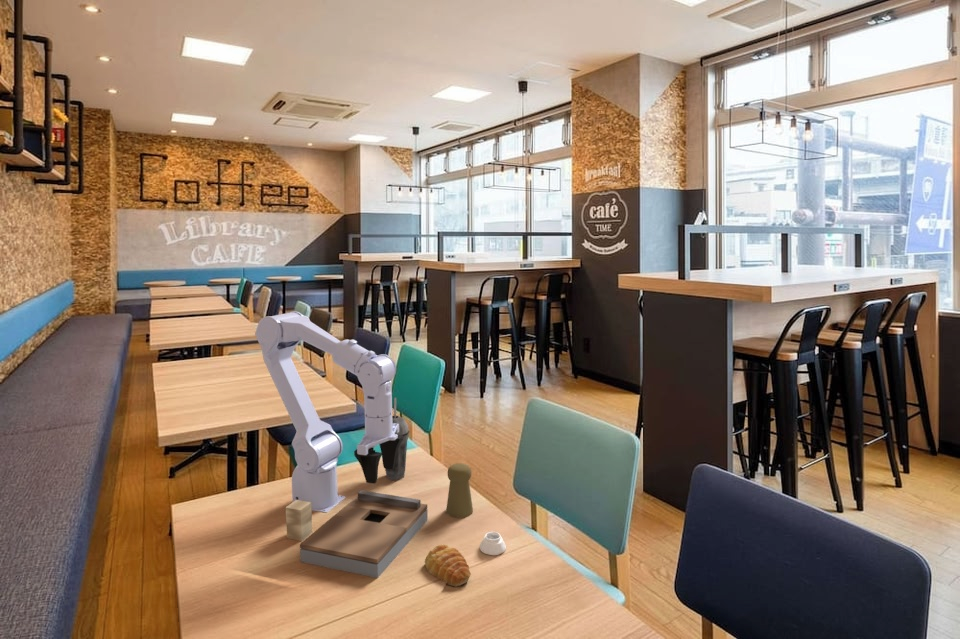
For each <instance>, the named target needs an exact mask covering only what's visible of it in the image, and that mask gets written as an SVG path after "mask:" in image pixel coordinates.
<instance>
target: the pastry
mask: <svg viewBox="0 0 960 639" xmlns="http://www.w3.org/2000/svg"><path fill="white" fill-rule="evenodd" d="M424 565H425V567H426V570H427V572H428V573H429V574H431V575H432V576H434V577H436V578H437V579H439V580H441V581H443V582H445V585H448V586H453V587H460V586H461V585H464V584H467V582H469V579H470V577H471V575H472V574H471V571H470V565H469V564H468V562H467V559H466V558H465V557H464V555H462V553H461V552H459V550H458V549H457V548H455V547H449V545H446V544H439V545H436V546H434V547H433V548H432V549H431V550H430V551H429V552H428V554H427V556H426V557H425V559H424Z"/></svg>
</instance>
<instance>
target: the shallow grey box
mask: <svg viewBox="0 0 960 639" xmlns="http://www.w3.org/2000/svg"><path fill="white" fill-rule="evenodd" d="M386 517H387V516H385V515H379V514H374V513H370V514H369V515H368V516H367V517H366V518H365V519H364V520H366V521H371V522H377V523H380V522H381V521H382V520H384V519H385V518H386ZM427 522H428V508H427V509H426V510H425V511H424V513H423V514H422V515H421V516H420V517H419V518H418V519H417V520H416V522H415V523H414V524H413V525H412V526H411V527H410V528H409V529H408V530H407V532H406V533H405V534H404V535H403V536H402V537H401V538H400V539H399V540H398V542H397V543H396V544H395V545H394V546H393V547H392V548H391V549H390V550H389V552H388V553H387V554H386V555H385V556H384V557H383V558H382V559H381V560H380V562H379V563H378V564H376V563H372V562H367V561H362V560H357V559H352V558H347V557H342V556H337V555H332V554H327V553H322V552H317V551H312V550H307V549H302V548H299V549H300V550H299V551H300V553H299V556H300V557H299V558H300V562H301V563H306V564H309V565H314V566H319V567H325V568H328V569H332V570H339V571H343V572H347V573H353V574H356V575H357V574H358V575H362V576H367V577H371V578H374V579H375V578H376V579H378V578H380V576H381V575H382V574H383V573H384V572H385V571H386V570H387V568H388V567H389V566H390V565H391V564H392V563H393V562H394V561H395V559H396V558H397V557H398V556H399V554H400V553H401V552H402V551H403V549H405V547H406V546H407V545H408V544H409V543H410V541H412V540H413V539H414V537H415V535H417V533H418V532H419V531H420V530H421V529H422V528H423V527H424V525H425V524H426V523H427Z"/></svg>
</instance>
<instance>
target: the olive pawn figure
mask: <svg viewBox="0 0 960 639" xmlns="http://www.w3.org/2000/svg"><path fill="white" fill-rule="evenodd" d="M447 478H448V479H449V486H448V495H447V502H446V510H445V514H447V515H448V516H449V517H452V518H455V519H457V518H459V519H460V518H461V519H462V518H467V517H469V516H471V515H472V514H473V513H474V508H473V501H472V494H471V486H470V480H471V478H472V469H471V467H470V466H469V465H468V464H466V463H461V462H460V463H458V462H457V463H454V464H452V465H451V464H450V466H449V467H448V469H447Z"/></svg>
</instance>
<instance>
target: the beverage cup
mask: <svg viewBox="0 0 960 639" xmlns="http://www.w3.org/2000/svg"><path fill="white" fill-rule="evenodd" d="M393 400H394V401H393V404H394V405H393V415H392V423H396V424H399V432H398V433H396V434H397V435H402V436H403V440H402V442H401V444H400V446H399V449H398V452H397V456H396V460H395V465H394V469H385V468H384V470H385V475H386V476H385V477H386V479H388V480H390V481H397V480H402V479H403V478H405V474H406V464H407V449H408V440H409V434H410V430H409V426H408V423H407V421H406V420H405V419H404V418H403V417H401V416H399V415H397V397H394V398H393Z"/></svg>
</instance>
